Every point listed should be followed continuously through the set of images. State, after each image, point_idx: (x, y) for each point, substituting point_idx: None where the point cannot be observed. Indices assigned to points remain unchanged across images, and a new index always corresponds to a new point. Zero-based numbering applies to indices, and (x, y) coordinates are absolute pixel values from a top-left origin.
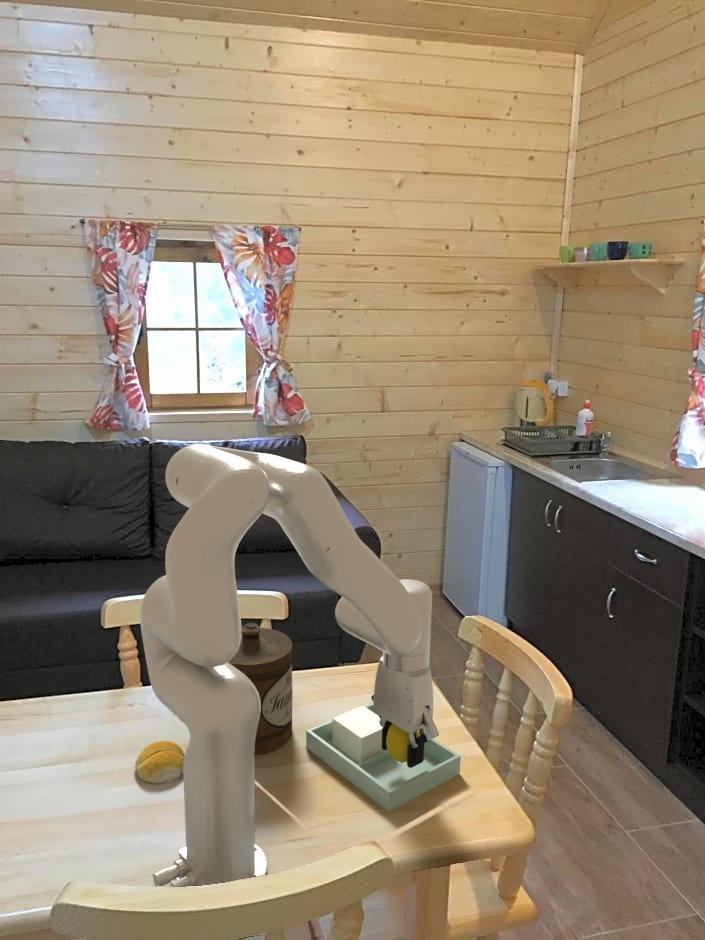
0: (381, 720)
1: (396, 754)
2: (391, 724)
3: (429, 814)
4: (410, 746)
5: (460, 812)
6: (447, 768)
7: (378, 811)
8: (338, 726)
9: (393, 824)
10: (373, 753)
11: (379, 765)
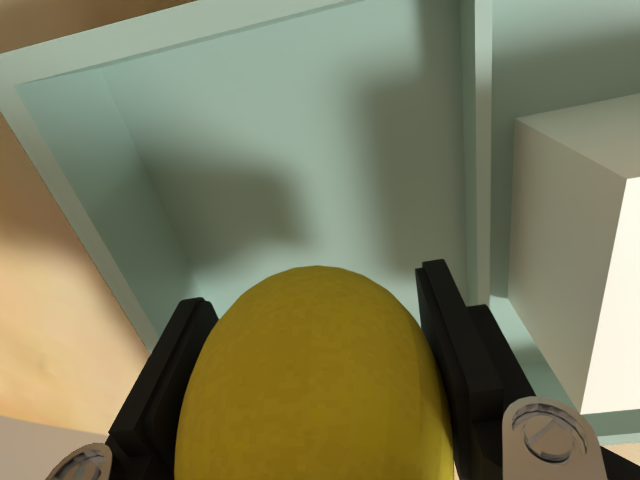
0: (577, 468)
1: (240, 299)
2: (480, 471)
3: (64, 221)
4: (115, 436)
5: (63, 315)
6: None
7: (123, 9)
8: None
9: (5, 33)
10: (522, 215)
11: (441, 200)
